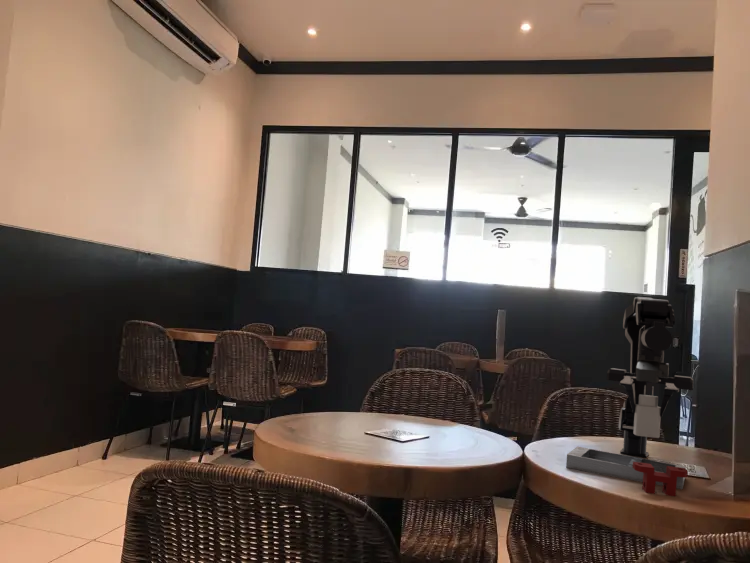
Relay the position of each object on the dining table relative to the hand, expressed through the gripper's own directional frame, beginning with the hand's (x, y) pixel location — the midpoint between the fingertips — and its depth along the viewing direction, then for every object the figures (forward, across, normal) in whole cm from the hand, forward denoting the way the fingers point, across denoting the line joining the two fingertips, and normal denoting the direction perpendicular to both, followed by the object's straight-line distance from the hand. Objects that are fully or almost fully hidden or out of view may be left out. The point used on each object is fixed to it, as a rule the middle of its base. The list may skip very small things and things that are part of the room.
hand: (647, 414), depth 140 cm
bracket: (+10, +9, -20) cm, 25 cm away
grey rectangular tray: (+13, -3, -8) cm, 16 cm away
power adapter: (+5, 0, 0) cm, 5 cm away
